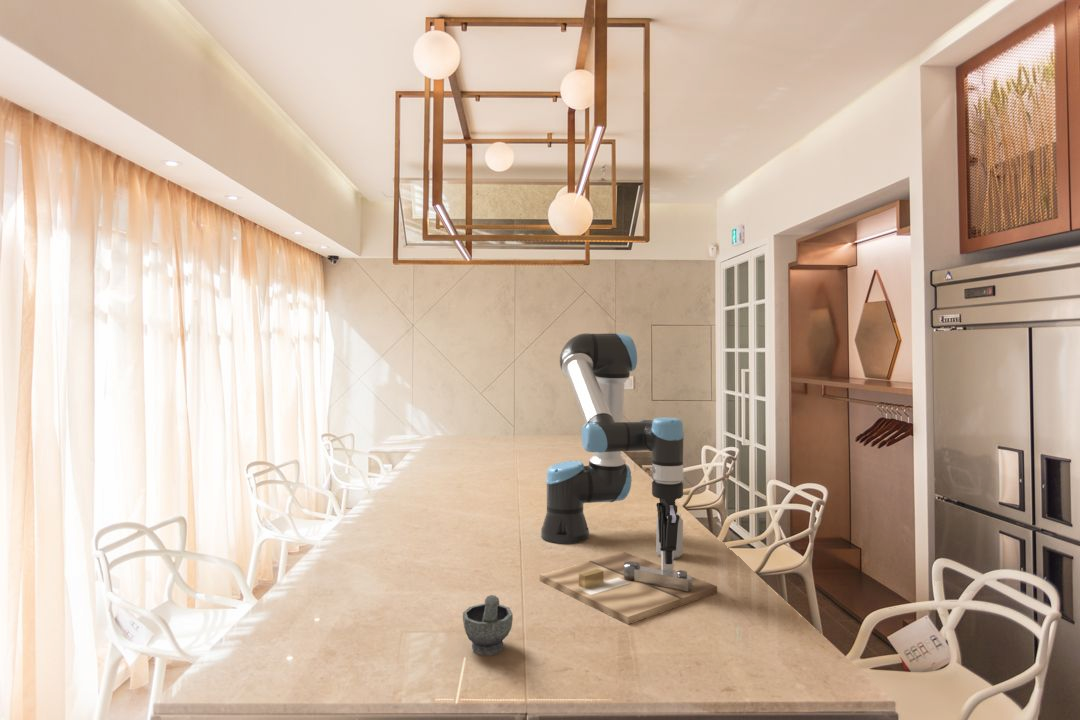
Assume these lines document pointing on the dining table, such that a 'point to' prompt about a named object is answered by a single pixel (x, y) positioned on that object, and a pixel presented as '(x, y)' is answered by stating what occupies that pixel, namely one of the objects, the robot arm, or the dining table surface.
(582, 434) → the robot arm
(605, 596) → the door board
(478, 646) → the mortar and pestle
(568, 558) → the dining table surface
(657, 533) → the can
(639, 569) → the bar
